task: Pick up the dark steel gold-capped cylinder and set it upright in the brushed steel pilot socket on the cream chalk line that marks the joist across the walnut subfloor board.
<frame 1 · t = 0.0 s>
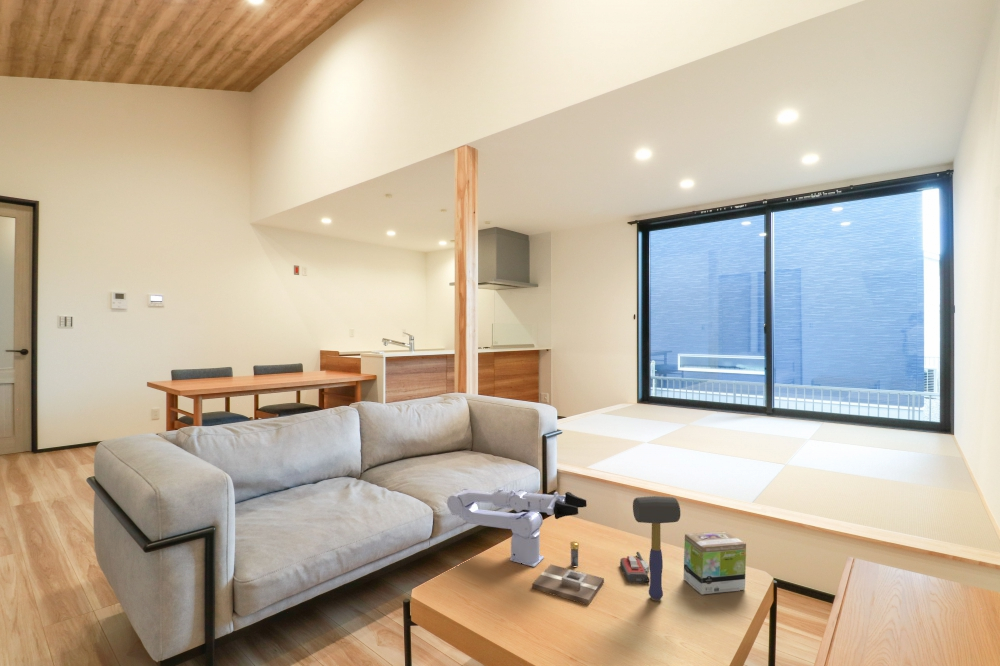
hand: (582, 507, 157), 22 cm above the table, tool horizontal, fingers open, 7 cm apart
rubber mallet: (655, 599, 143), on the table
walkie-talkie: (634, 570, 161), on the table
tea box: (714, 585, 151), on the table
subfloor board: (568, 585, 150), on the table
gold-capped cylinder: (574, 565, 163), on the table
pilot socket: (574, 587, 149), resting on subfloor board
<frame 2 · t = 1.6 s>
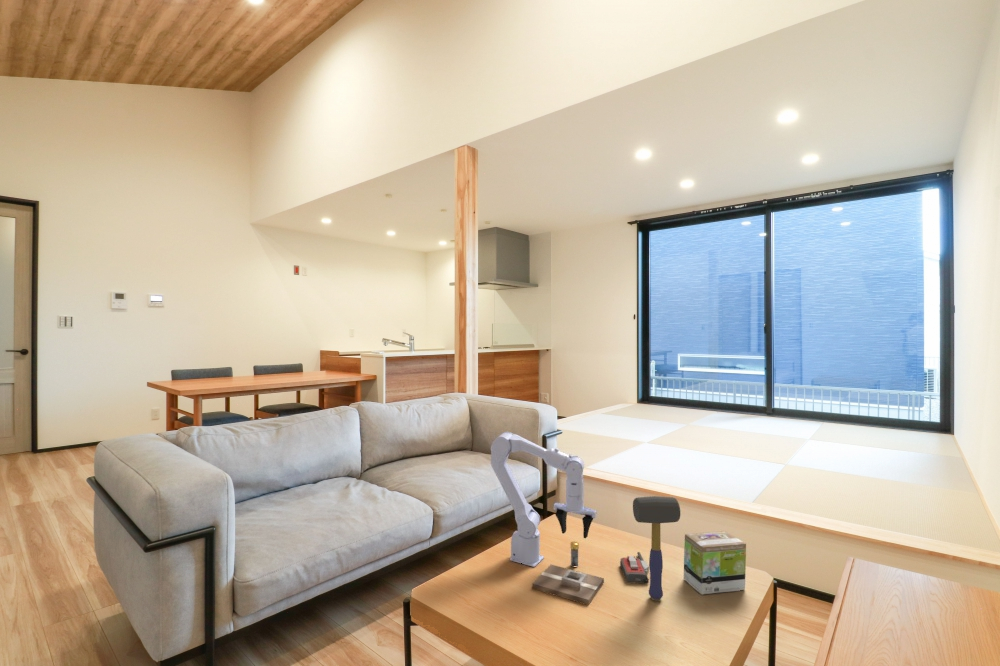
hand: (574, 534, 163), 10 cm above the table, tool pointing down, fingers open, 7 cm apart
nothing on the table moved.
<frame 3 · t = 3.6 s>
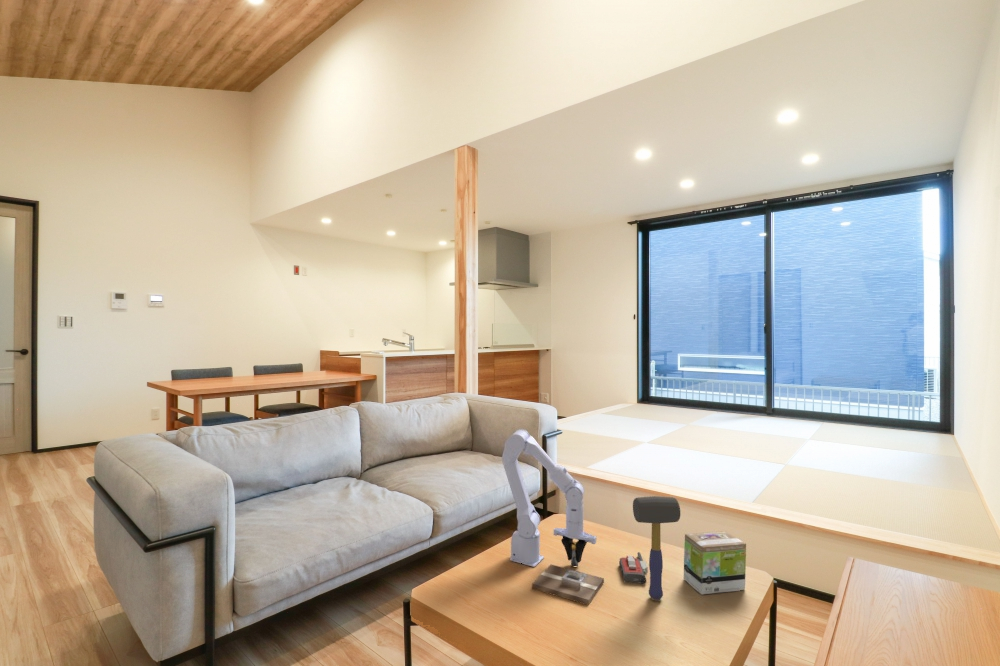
hand: (574, 560, 163), 2 cm above the table, tool pointing down, fingers closed on gold-capped cylinder, 3 cm apart
gold-capped cylinder: (574, 565, 163), on the table, touching gripper
everything else where it was.
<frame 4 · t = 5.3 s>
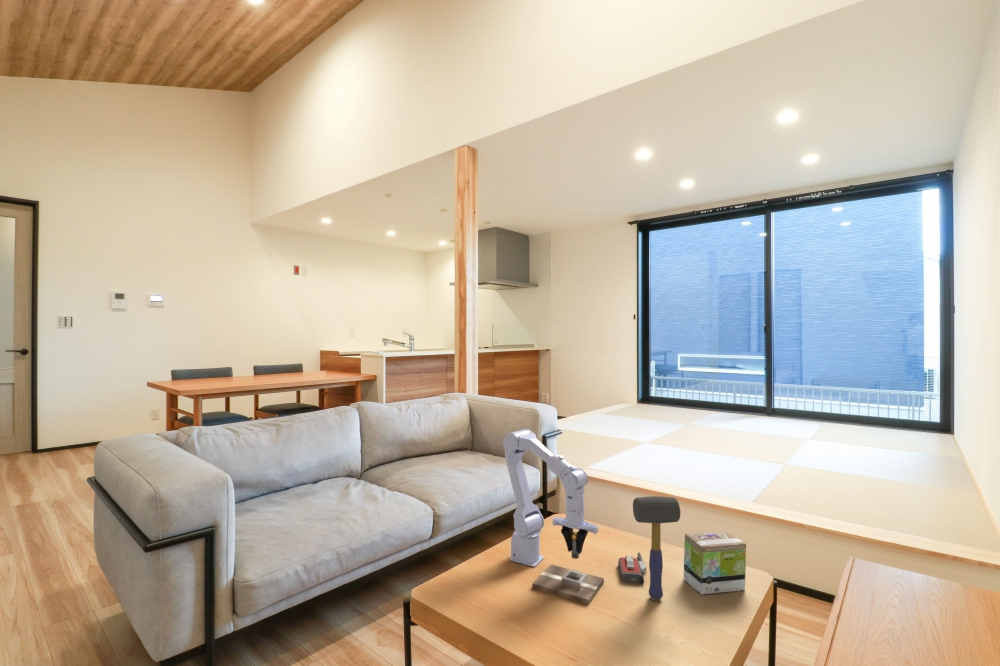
hand: (575, 551, 154), 9 cm above the table, tool pointing down, fingers closed on gold-capped cylinder, 3 cm apart
gold-capped cylinder: (575, 556, 154), point 7 cm above the table, touching gripper
everything else where it was.
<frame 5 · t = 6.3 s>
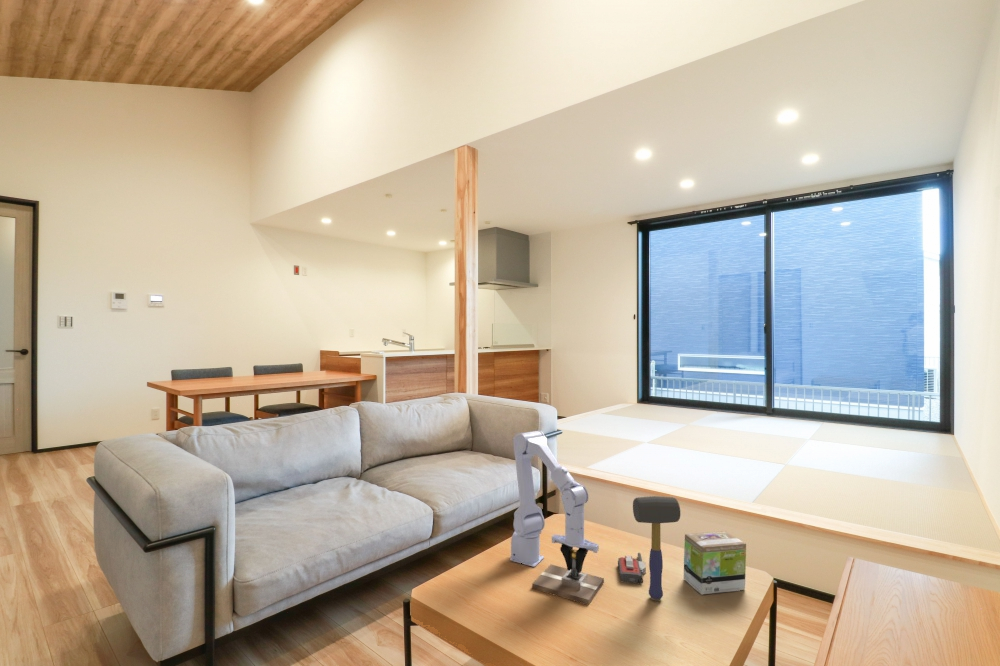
hand: (574, 570, 149), 5 cm above the table, tool pointing down, fingers closed on gold-capped cylinder, 3 cm apart
gold-capped cylinder: (574, 575, 150), point 3 cm above the table, touching gripper
when the fingers open (5 cm above the table, at t = 7.1 s): gold-capped cylinder drops 1 cm, resting on subfloor board.
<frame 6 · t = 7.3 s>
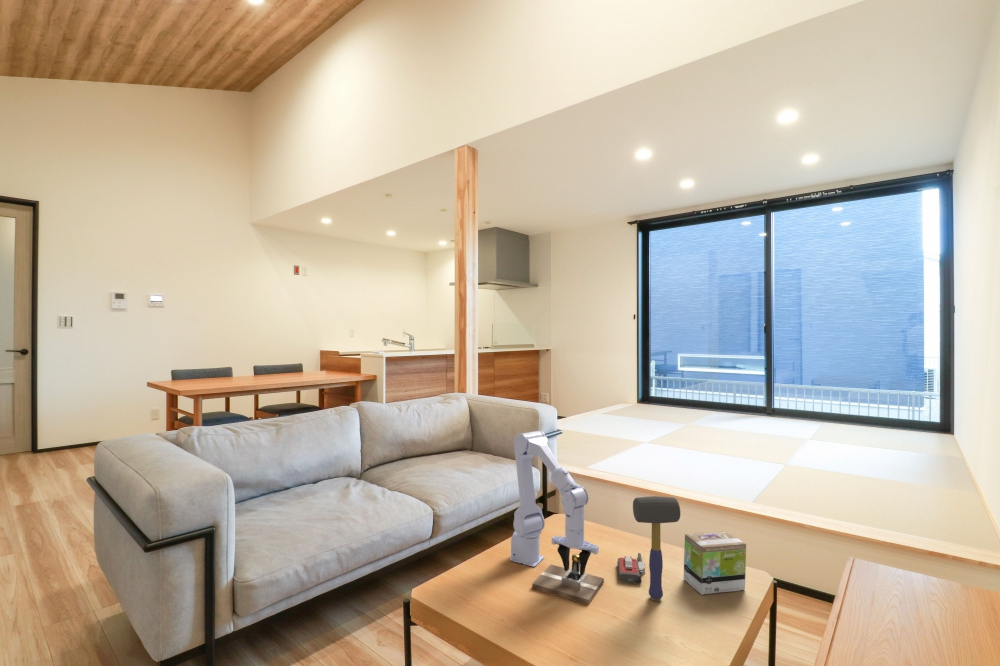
hand: (574, 571, 149), 5 cm above the table, tool pointing down, fingers open, 4 cm apart
gold-capped cylinder: (574, 581, 150), point 2 cm above the table, tilted 11°, touching subfloor board
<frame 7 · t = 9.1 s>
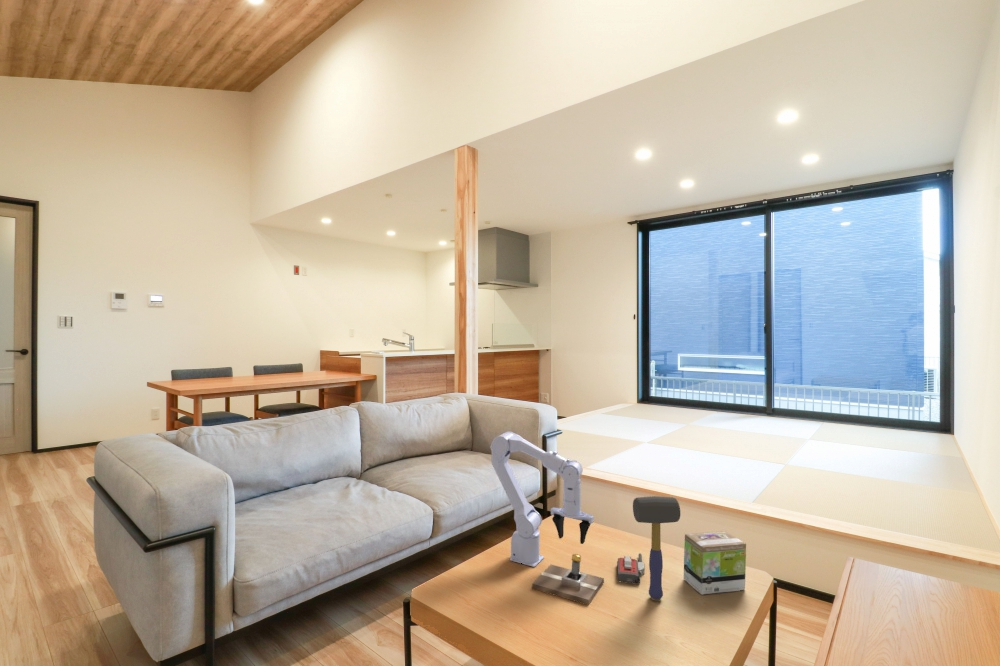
hand: (571, 540, 161), 9 cm above the table, tool pointing down, fingers open, 7 cm apart
gold-capped cylinder: (574, 581, 150), point 2 cm above the table, tilted 11°, touching pilot socket, subfloor board
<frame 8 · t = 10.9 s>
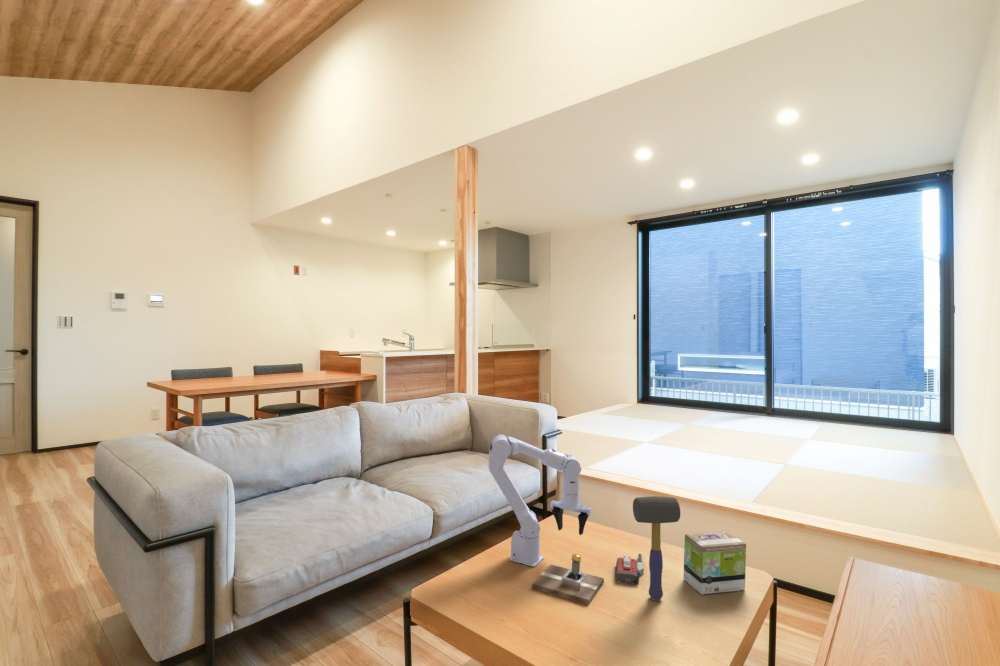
hand: (570, 531, 168), 9 cm above the table, tool pointing down, fingers open, 7 cm apart
at the end: gold-capped cylinder 0.4 cm off-centre on the pilot socket, point 1.7 cm above the pilot socket's base; gold-capped cylinder tilted 11°; the gripper is holding nothing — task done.
